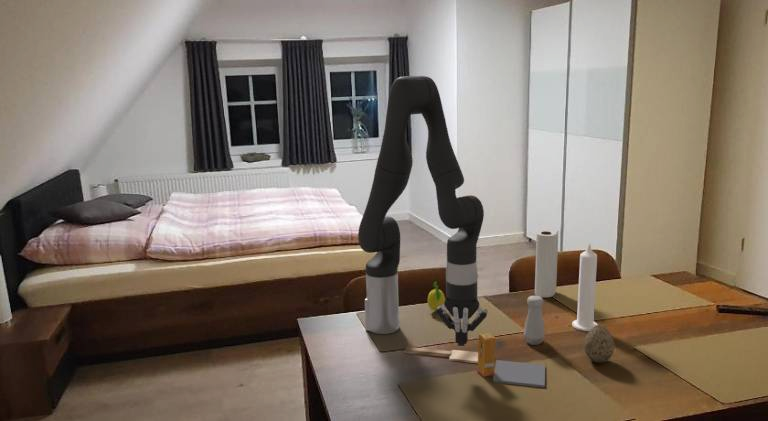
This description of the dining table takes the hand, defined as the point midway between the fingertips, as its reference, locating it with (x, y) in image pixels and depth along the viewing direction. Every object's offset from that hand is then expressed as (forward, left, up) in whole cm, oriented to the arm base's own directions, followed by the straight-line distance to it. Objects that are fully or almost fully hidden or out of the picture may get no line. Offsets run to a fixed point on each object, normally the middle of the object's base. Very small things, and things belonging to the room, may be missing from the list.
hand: (461, 344), depth 143 cm
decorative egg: (+33, +12, -7) cm, 36 cm away
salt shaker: (+17, +20, -7) cm, 27 cm away
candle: (+31, +33, -7) cm, 46 cm away
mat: (+14, +1, -7) cm, 16 cm away
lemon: (-13, +35, -7) cm, 38 cm away
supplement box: (+6, 0, -7) cm, 10 cm away
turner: (-6, +7, -7) cm, 12 cm away
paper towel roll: (+20, +56, -7) cm, 60 cm away
